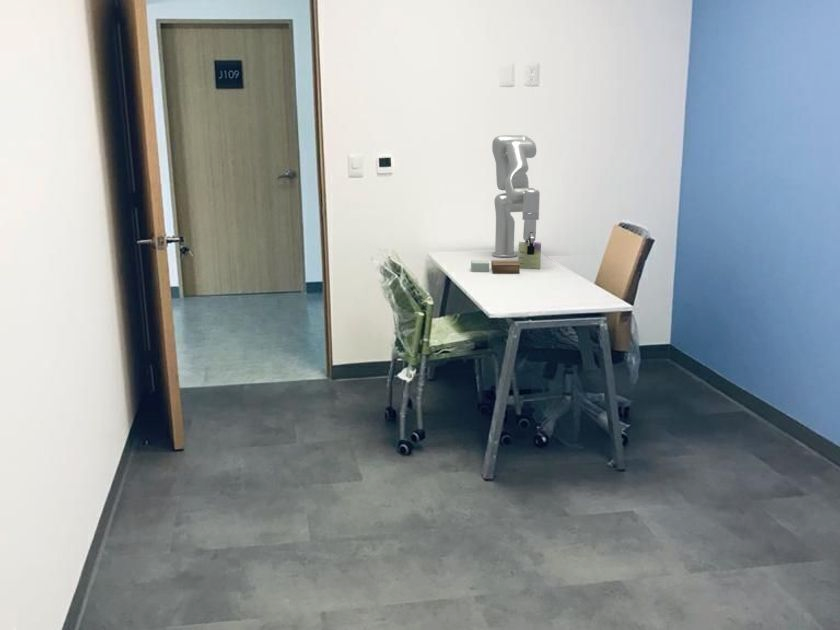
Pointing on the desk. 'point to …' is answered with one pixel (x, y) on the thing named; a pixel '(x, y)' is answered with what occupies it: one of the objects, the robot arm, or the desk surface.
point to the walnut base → (505, 267)
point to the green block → (479, 266)
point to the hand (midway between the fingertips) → (529, 252)
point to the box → (529, 256)
